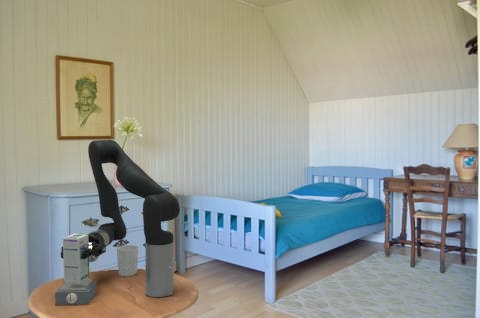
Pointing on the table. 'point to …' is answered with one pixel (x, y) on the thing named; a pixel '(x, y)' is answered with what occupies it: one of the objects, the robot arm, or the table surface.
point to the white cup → (127, 260)
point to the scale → (75, 296)
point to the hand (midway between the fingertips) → (72, 255)
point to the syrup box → (75, 258)
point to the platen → (76, 286)
